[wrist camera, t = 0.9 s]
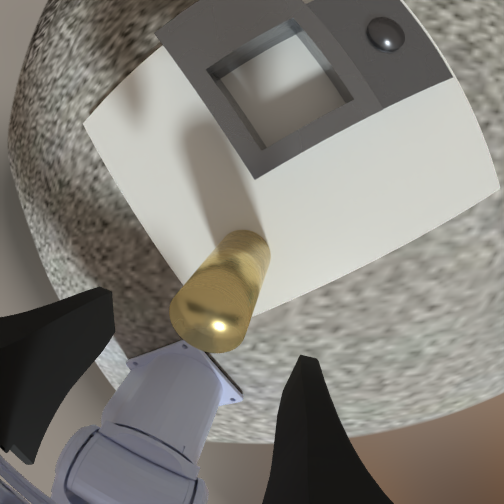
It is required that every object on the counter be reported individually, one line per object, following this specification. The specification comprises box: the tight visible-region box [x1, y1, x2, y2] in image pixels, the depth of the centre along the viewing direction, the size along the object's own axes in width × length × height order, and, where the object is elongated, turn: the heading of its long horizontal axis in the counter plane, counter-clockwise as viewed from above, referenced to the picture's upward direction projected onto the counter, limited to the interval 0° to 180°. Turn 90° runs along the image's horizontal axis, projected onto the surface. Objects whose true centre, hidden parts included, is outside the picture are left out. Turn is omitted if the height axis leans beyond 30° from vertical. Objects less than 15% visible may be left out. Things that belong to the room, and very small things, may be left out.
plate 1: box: [154, 0, 383, 180], centre depth 12 cm, size 7×10×2 cm
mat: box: [83, 0, 500, 317], centre depth 14 cm, size 22×18×1 cm
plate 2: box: [214, 0, 453, 149], centre depth 11 cm, size 12×7×2 cm, turn 123°
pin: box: [169, 230, 271, 353], centre depth 14 cm, size 3×3×7 cm
